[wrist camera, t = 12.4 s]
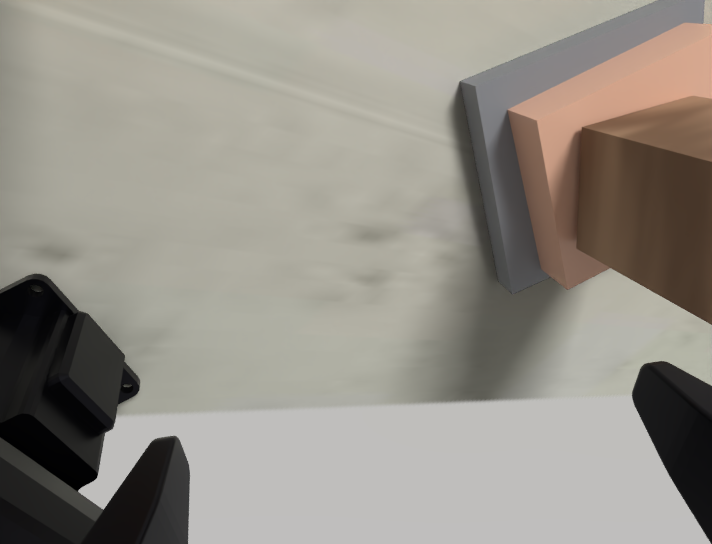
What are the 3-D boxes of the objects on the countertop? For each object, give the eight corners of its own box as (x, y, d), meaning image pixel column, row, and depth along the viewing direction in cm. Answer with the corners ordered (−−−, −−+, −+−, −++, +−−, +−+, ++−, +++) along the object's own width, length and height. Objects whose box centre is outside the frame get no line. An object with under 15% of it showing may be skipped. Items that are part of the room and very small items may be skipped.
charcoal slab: (491, 274, 26) (512, 294, 25) (451, 78, 21) (475, 86, 19) (661, 198, 27) (693, 212, 26) (664, -9, 22) (704, -9, 20)
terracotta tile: (541, 269, 24) (567, 289, 23) (507, 109, 20) (536, 120, 19) (687, 194, 25) (724, 209, 23) (684, 22, 21) (729, 25, 19)
